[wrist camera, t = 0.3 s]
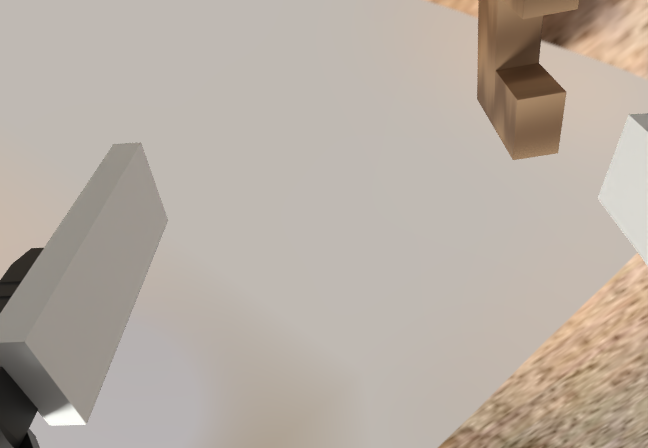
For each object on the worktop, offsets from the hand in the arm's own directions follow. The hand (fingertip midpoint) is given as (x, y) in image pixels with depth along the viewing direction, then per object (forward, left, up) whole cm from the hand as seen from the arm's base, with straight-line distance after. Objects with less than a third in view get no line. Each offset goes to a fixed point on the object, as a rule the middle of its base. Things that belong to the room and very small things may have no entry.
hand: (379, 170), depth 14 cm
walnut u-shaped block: (+5, +11, -27) cm, 30 cm away
